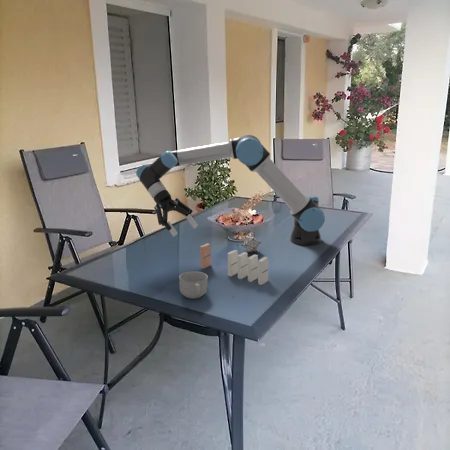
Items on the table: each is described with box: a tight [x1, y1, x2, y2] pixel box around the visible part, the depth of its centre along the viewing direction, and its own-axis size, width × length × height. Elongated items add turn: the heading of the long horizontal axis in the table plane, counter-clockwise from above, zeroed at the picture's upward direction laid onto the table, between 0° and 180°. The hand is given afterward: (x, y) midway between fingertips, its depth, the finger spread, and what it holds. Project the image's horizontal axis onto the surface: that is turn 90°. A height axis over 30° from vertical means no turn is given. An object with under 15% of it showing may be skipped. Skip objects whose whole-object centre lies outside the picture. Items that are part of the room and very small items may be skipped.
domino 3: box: [237, 251, 249, 280], centre depth 180 cm, size 2×5×10 cm, turn 143°
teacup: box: [178, 270, 209, 300], centre depth 164 cm, size 14×11×8 cm
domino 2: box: [227, 249, 239, 277], centre depth 183 cm, size 2×5×10 cm, turn 142°
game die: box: [240, 234, 262, 254], centre depth 207 cm, size 9×8×10 cm
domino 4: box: [247, 254, 259, 283], centre depth 177 cm, size 2×5×10 cm, turn 142°
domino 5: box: [257, 256, 269, 286], centre depth 174 cm, size 2×5×10 cm, turn 142°
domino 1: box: [199, 243, 212, 270], centre depth 192 cm, size 2×5×10 cm, turn 143°
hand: (186, 230), depth 195 cm, fingers open, 13 cm apart
